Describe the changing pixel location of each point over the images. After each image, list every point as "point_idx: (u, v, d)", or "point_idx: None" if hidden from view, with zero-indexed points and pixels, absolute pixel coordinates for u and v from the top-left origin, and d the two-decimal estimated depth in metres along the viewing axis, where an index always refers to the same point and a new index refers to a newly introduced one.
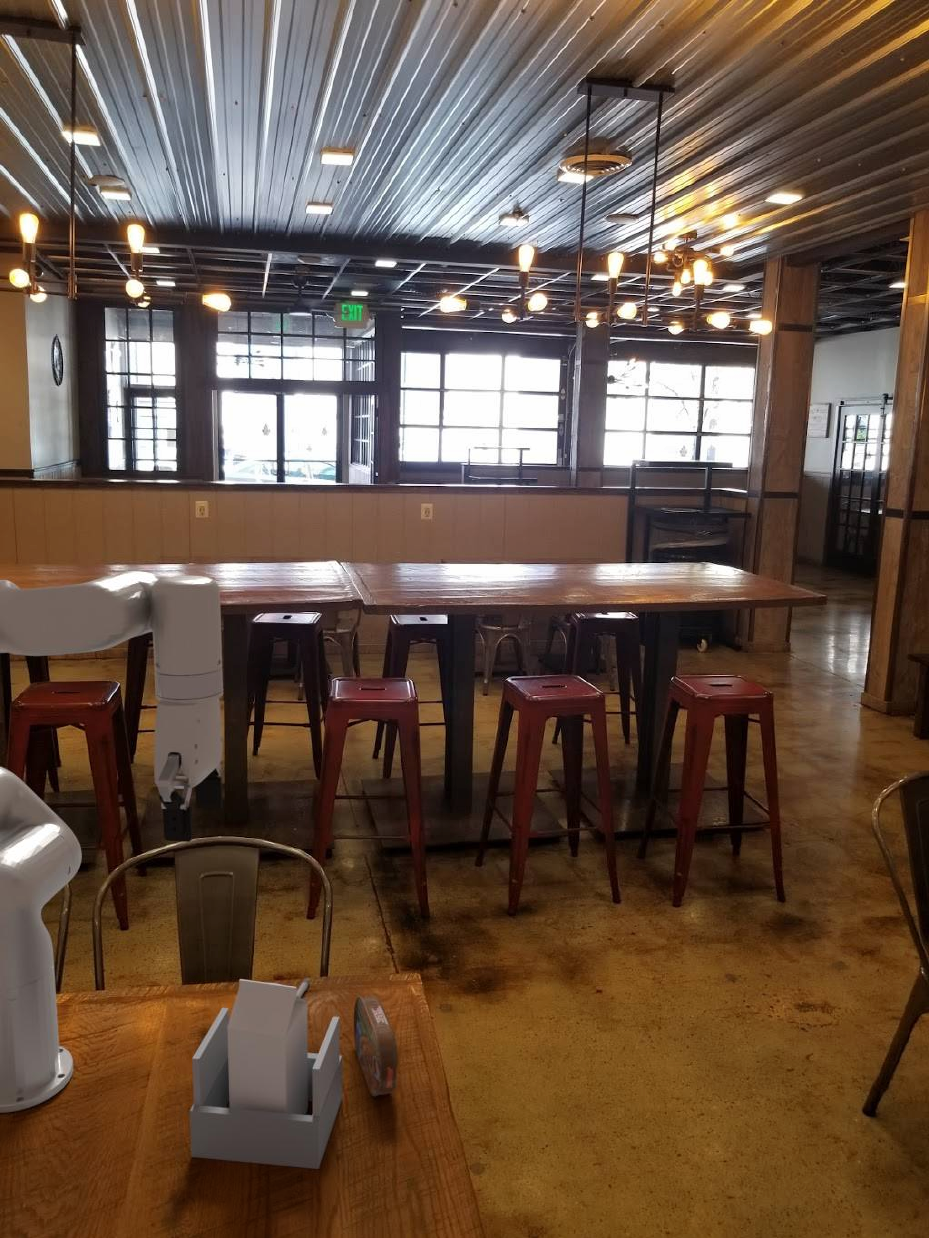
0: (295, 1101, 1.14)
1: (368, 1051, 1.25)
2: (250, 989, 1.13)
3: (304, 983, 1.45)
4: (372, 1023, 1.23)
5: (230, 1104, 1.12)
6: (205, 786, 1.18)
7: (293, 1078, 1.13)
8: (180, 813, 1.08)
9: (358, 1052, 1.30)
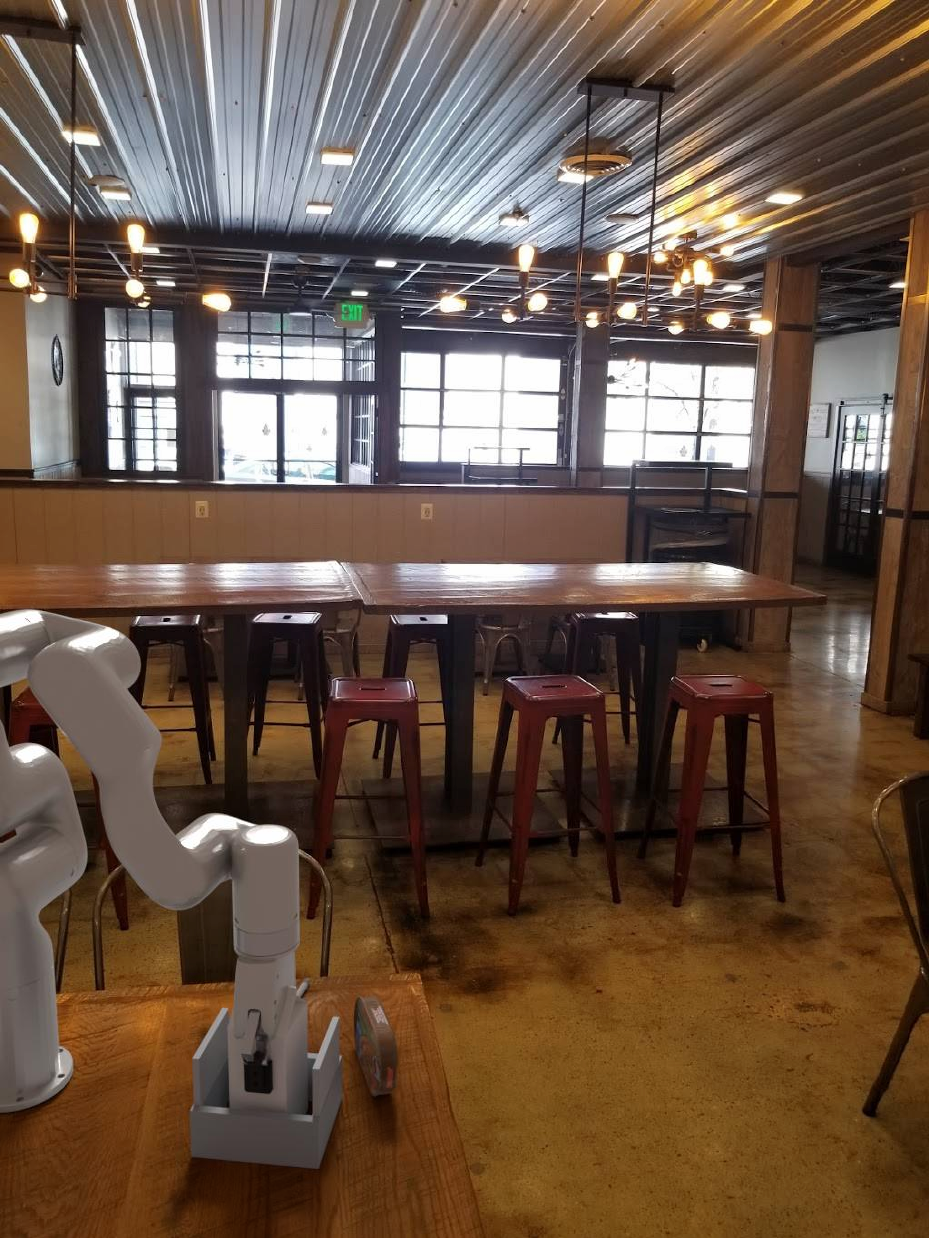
0: (295, 1101, 1.14)
1: (368, 1051, 1.25)
2: None
3: (304, 983, 1.45)
4: (372, 1023, 1.23)
5: (230, 1104, 1.12)
6: None
7: (293, 1078, 1.13)
8: (261, 1069, 1.09)
9: (358, 1052, 1.30)
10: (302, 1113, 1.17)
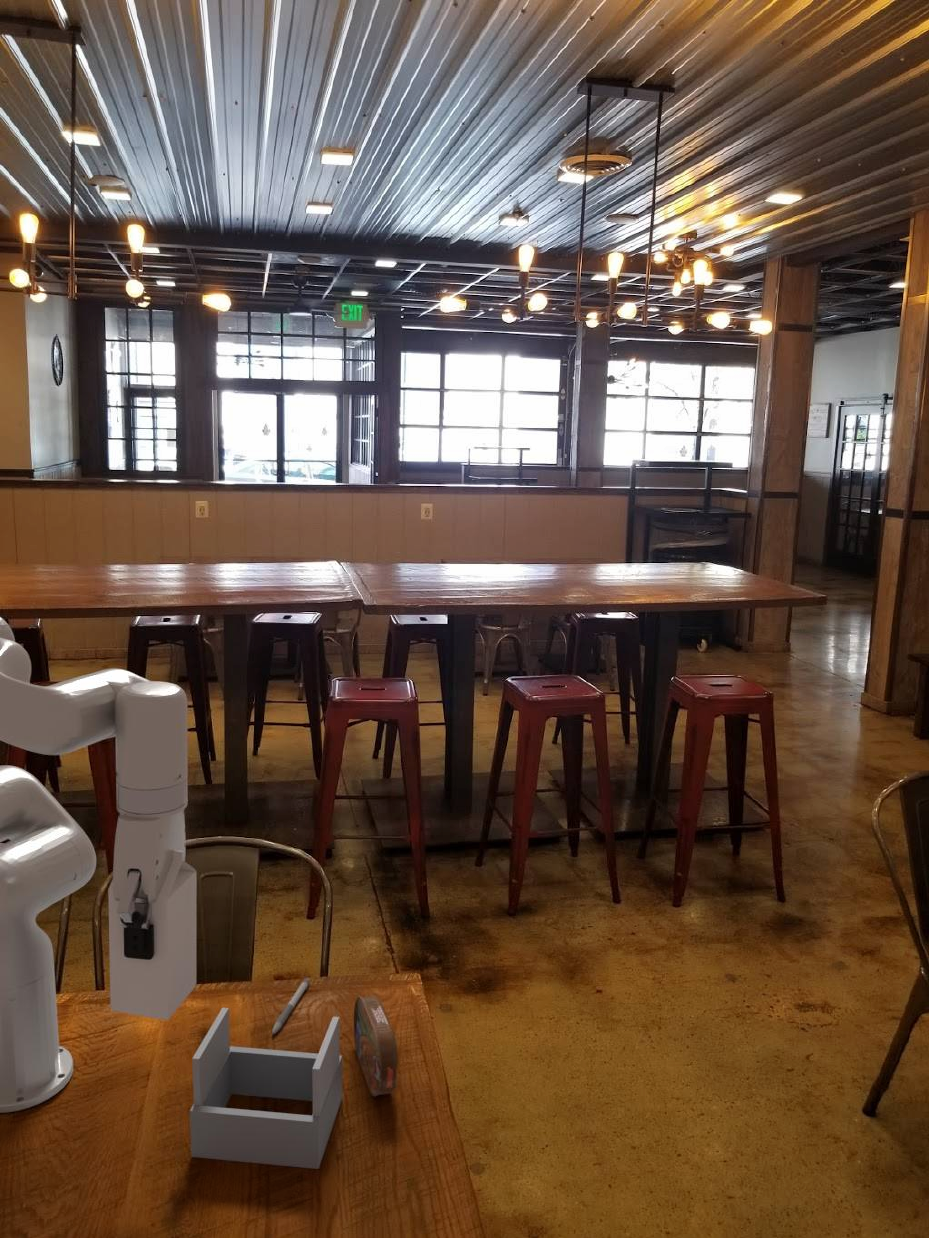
0: (179, 971, 1.10)
1: (368, 1051, 1.25)
2: None
3: (304, 983, 1.45)
4: (372, 1023, 1.23)
5: (110, 972, 1.08)
6: None
7: (177, 946, 1.08)
8: (141, 932, 1.04)
9: (358, 1052, 1.30)
10: (188, 987, 1.12)
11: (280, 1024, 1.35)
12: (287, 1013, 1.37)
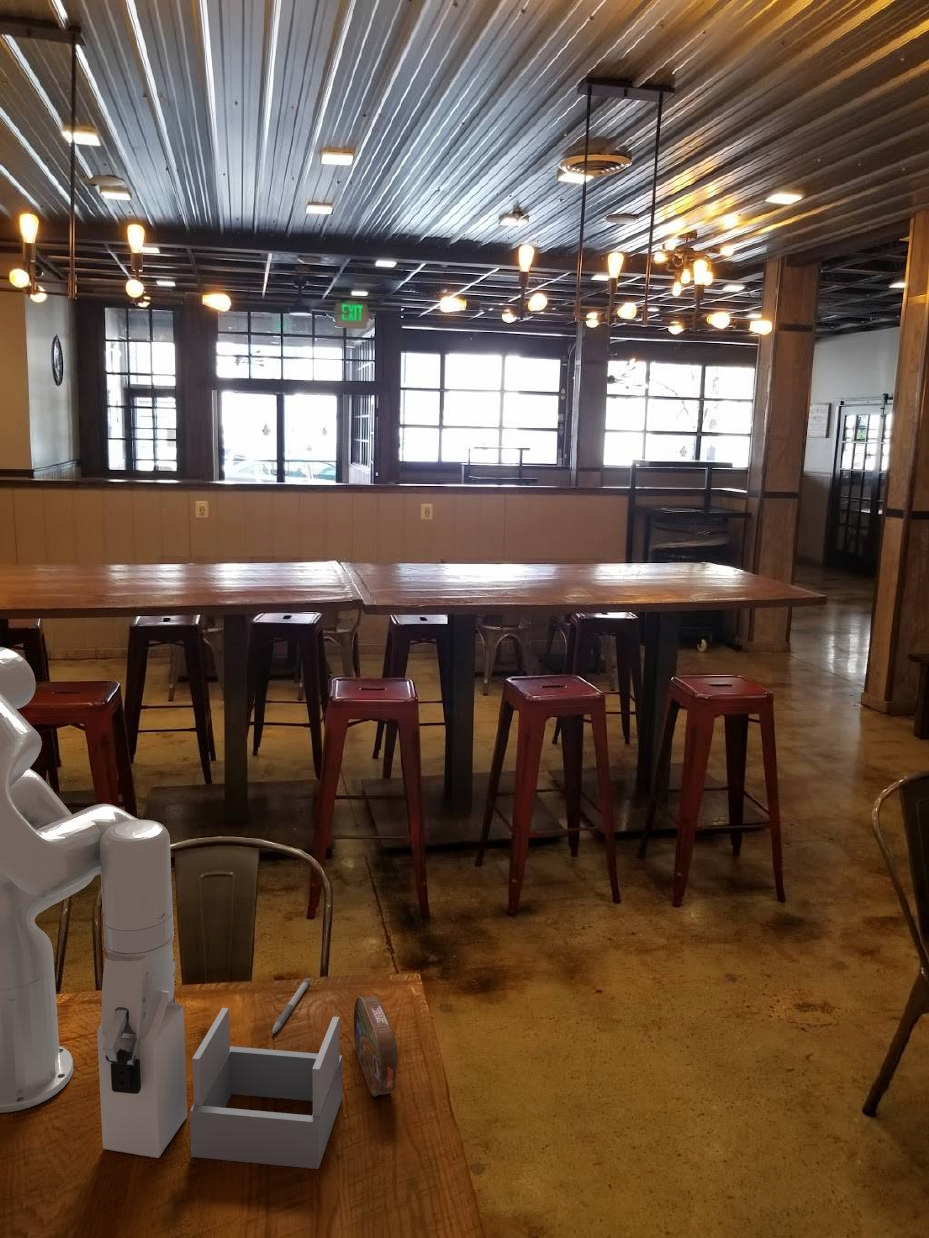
0: (169, 1107, 1.12)
1: (368, 1051, 1.25)
2: None
3: (304, 983, 1.45)
4: (372, 1023, 1.23)
5: (102, 1111, 1.11)
6: None
7: (166, 1084, 1.11)
8: (127, 1068, 1.06)
9: (358, 1052, 1.30)
10: (179, 1120, 1.15)
11: (280, 1024, 1.35)
12: (287, 1013, 1.37)
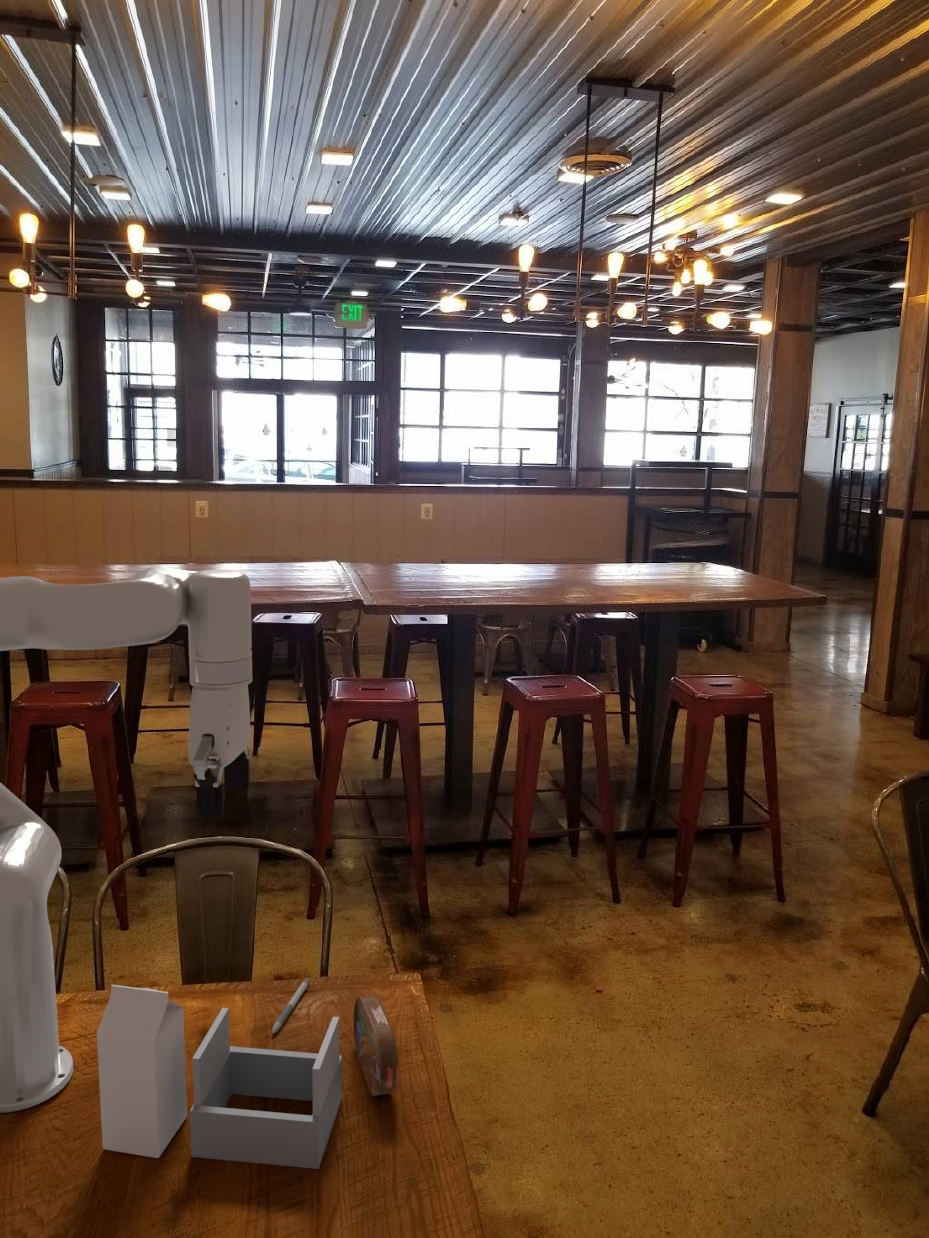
0: (169, 1108, 1.12)
1: (368, 1051, 1.25)
2: (122, 995, 1.11)
3: (304, 983, 1.45)
4: (372, 1023, 1.23)
5: (101, 1112, 1.11)
6: (234, 767, 1.26)
7: (166, 1085, 1.11)
8: (213, 791, 1.15)
9: (358, 1052, 1.30)
10: (179, 1120, 1.15)
11: (280, 1024, 1.35)
12: (287, 1013, 1.37)
